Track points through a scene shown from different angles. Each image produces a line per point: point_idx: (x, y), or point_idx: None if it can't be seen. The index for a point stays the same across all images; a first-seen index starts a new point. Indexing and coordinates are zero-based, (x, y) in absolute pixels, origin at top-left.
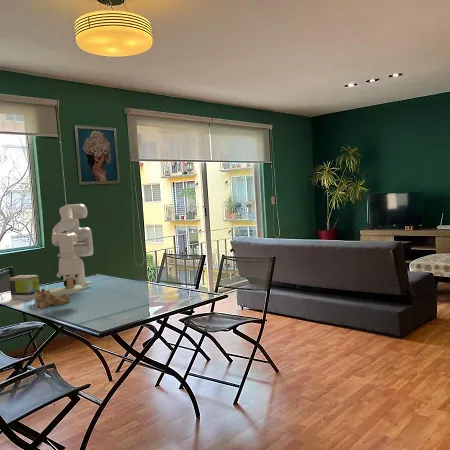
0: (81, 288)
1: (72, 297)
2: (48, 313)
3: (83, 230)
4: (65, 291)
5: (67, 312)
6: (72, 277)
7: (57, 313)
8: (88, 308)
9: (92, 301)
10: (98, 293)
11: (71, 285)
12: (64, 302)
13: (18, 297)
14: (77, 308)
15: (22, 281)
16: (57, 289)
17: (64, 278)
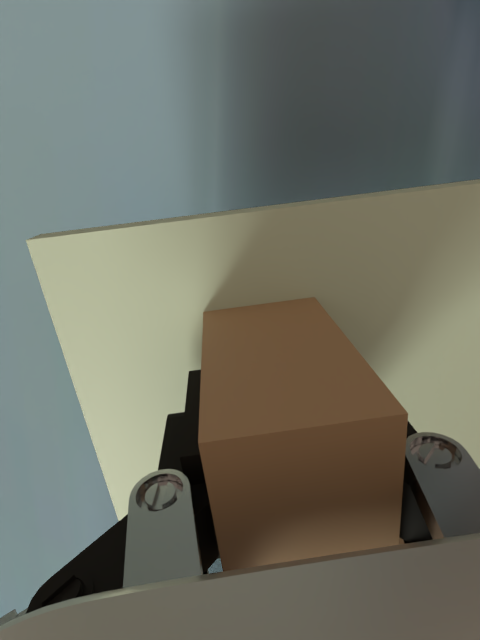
0: (61, 235)
1: (222, 569)
2: (465, 138)
3: None
4: (358, 194)
5: (295, 51)
6: (216, 509)
7: (392, 75)
8: (69, 102)
9: (54, 382)
10: (30, 597)
11: (248, 327)
12: None
13: None
14: (188, 179)
15: None
16: (461, 364)
17: (456, 480)
